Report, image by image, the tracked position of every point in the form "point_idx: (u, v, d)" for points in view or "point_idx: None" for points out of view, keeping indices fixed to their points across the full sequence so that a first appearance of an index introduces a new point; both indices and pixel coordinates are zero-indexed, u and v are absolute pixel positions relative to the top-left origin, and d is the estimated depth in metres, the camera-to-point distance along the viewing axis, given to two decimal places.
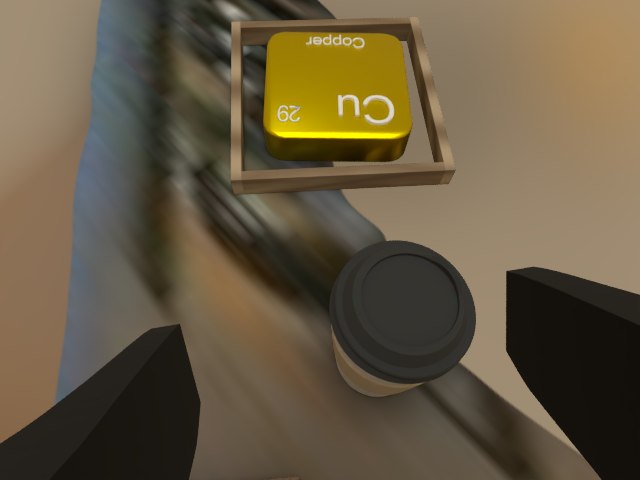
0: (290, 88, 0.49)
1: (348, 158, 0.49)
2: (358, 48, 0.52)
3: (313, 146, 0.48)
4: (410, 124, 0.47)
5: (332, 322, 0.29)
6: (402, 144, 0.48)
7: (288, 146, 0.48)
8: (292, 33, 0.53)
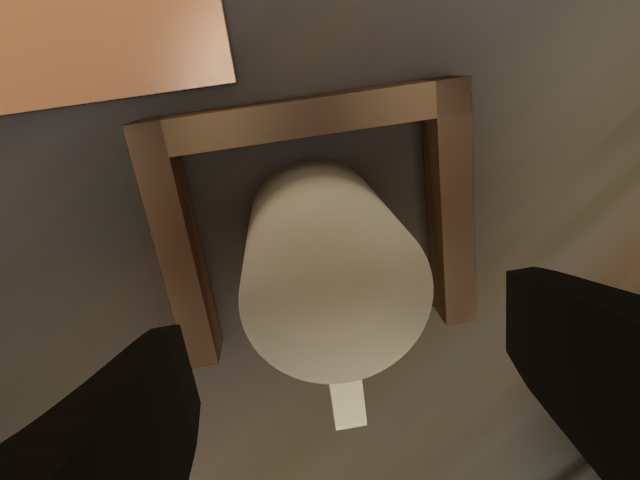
0: None
1: None
2: None
3: None
4: None
5: None
6: None
7: None
8: None
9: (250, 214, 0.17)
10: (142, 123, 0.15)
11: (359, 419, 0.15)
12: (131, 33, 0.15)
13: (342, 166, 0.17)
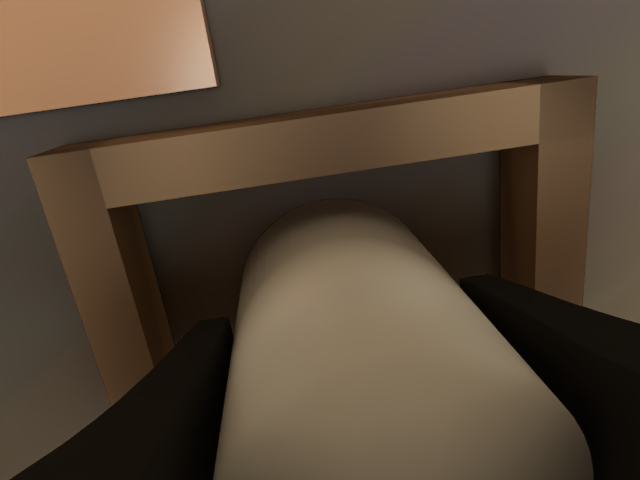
0: None
1: None
2: None
3: None
4: None
5: None
6: None
7: None
8: None
9: (241, 288, 0.11)
10: (60, 154, 0.09)
11: None
12: (43, 6, 0.09)
13: (382, 215, 0.11)
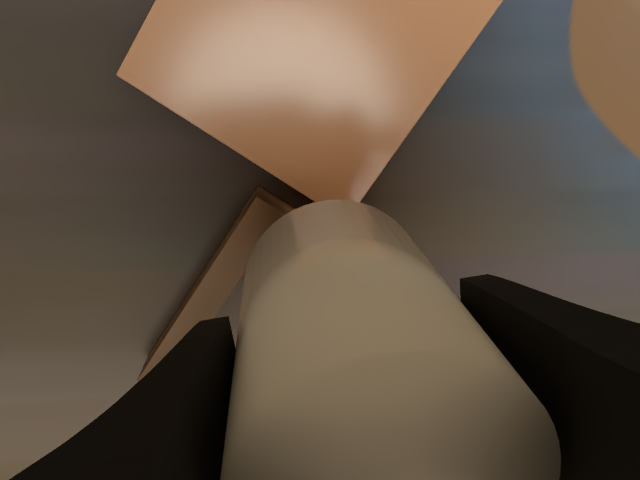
0: None
1: None
2: None
3: None
4: None
5: None
6: None
7: None
8: None
9: (245, 280, 0.12)
10: (270, 206, 0.18)
11: None
12: (310, 140, 0.18)
13: (381, 217, 0.12)
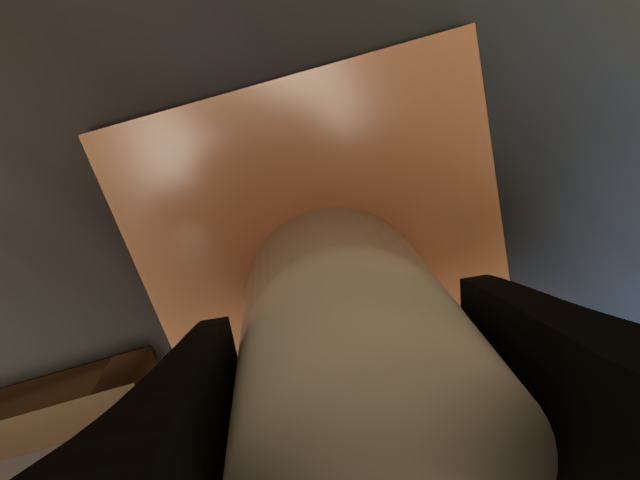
0: None
1: None
2: None
3: None
4: None
5: None
6: None
7: None
8: None
9: (250, 278, 0.12)
10: None
11: None
12: None
13: (389, 228, 0.12)
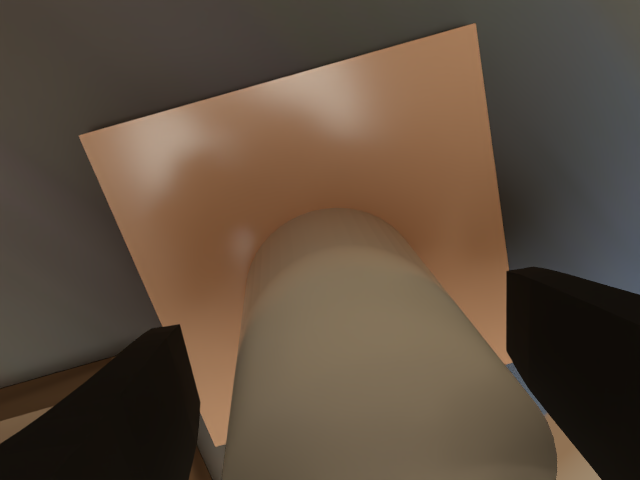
0: None
1: None
2: None
3: None
4: None
5: None
6: None
7: None
8: None
9: (249, 279, 0.12)
10: None
11: None
12: None
13: (388, 229, 0.12)
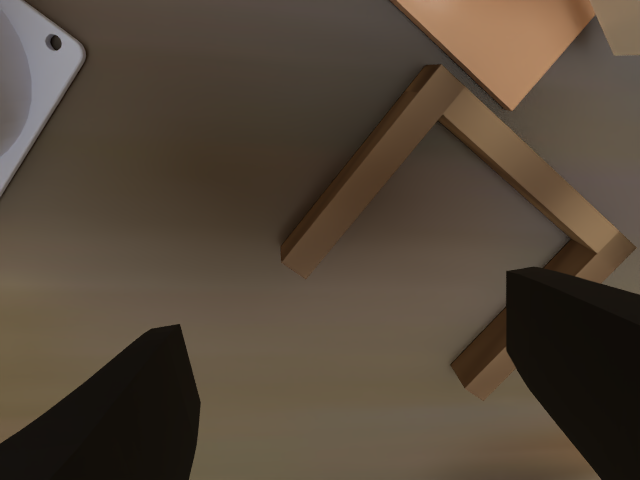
0: None
1: None
2: None
3: None
4: None
5: None
6: None
7: None
8: None
9: None
10: (453, 76, 0.17)
11: None
12: (493, 15, 0.17)
13: None
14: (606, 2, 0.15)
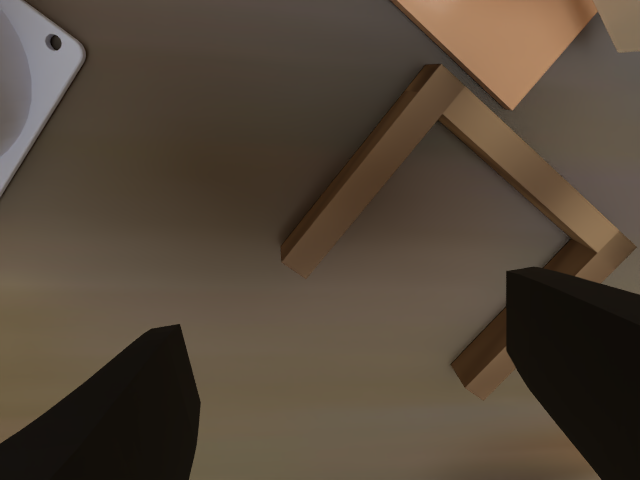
0: None
1: None
2: None
3: None
4: None
5: None
6: None
7: None
8: None
9: None
10: (453, 76, 0.17)
11: None
12: (493, 14, 0.17)
13: None
14: None
